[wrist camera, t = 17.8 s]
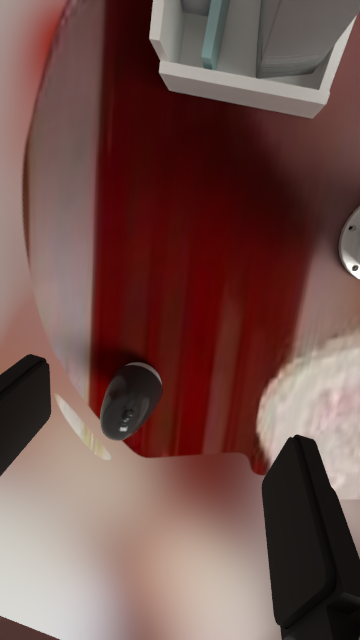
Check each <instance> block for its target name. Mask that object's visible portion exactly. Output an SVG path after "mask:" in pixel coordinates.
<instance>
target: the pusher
mask: <svg viewBox="0 0 360 640" xmlns="http://www.w3.org/2000/svg"><path fill="white" fill-rule="evenodd" d="M229 2H230V0H182V7H183V12H184V13H189V14H195V15H201V16H207V17H208V21H207V27H206V32H205V38H204V43H203V49H202V55H201V58H202V63H203V67H204V69H209V70H215V71H216V67H217V62H218V57H219V52H220V47H221V42H222V37H223V32H224V27H225V22H226V17H227V12H228V7H229Z"/></svg>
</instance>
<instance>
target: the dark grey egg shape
mask: <svg viewBox="0 0 360 640" xmlns="http://www.w3.org/2000/svg"><path fill="white" fill-rule="evenodd" d="M162 393H163V389H162V383H161V379H160V376H159V374H158V373H157V371H156V370H155V369H154V368H152V367H151V366H149V365H147V364H145V363H140V362H134V363H130V364H127V365H125V366H123V367H121V368H119V369H118V370H117V371H116V372H115V373H114V375H113V376H112V378H111V380H110V382H109V385H108V387H107V390H106V393H105V396H104V399H103V403H102V408H101V415H100V423H101V428H102V431H103V433H104V434H105V436H106V437H108V438H109V439H112V440H115V441H120V440H124V439H126V438H128V437H130V436H131V435H133V434H134V433H135V432H136V431H137V430H139V429H140V428H141V427H142V425H143V424H144V423H145V422H146V421H147V420H148V418H149V417H150V416H151V414H152V413H153V412H154V410H155V409H156V407H157V405H158V404H159V402H160V399H161V397H162Z"/></svg>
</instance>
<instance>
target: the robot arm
mask: <svg viewBox="0 0 360 640" xmlns="http://www.w3.org/2000/svg"><path fill="white" fill-rule="evenodd" d="M350 226H351V227H352V228H351V229H350V230H349V227H350ZM339 256H340V259H341V262H342V264H343V265H344V267H345V269H346V270H347V271H348V272H349V273H350V274H351V275H353V276H354V277H356V278H357V279H359V280H360V205H359V206H358V207H357V208H356V209H355V210H354V211H353V213H352V214H351V215H350V217H349V218H348V219H347V221H346V223H345V225H344V227H343V229H342V232H341V235H340V239H339ZM353 266H354V268H352V267H353ZM50 396H51V395H50V371H49V364H48V363H46V359H45V358H42V357H38V356H35V355H32V354H30V355H27V356H25V357H24V358H23V359H21V360H20V361H18V362H17V363H16V364H15V365H13V366H12V367H10V368H9V369H8V370H7V371H5V372H4V373H2V374H1V375H0V476H1V475H2V474H3V472H4V471H5V470H6V469H7V468H8V467H9V465H10V464H11V463H12V462H13V461H14V460H15V458H16V457H17V456H18V455H19V454H20V452H21V451H22V450H23V449H24V448H25V447H26V445H27V444H28V443H29V442H30V441H31V440H32V438H33V437H34V436H35V435H36V434H37V432H38V431H39V430H40V429H41V428H42V426H43V425H44V424H45V423H46V422H47V421H48V419H49V417H50V415H51V397H50ZM262 498H263V508H264V517H265V529H266V537H267V549H268V559H269V569H270V580H271V590H272V600H273V610H274V617H275V621H276V623H277V624H278V625H280V627H281V636H282V640H360V559H359V556H358V553H357V550H356V547H355V545H354V542H353V539H352V536H351V533H350V530H349V528H348V525H347V522H346V519H345V516H344V514H343V511H342V508H341V505H340V502H339V499H338V497H337V494H336V492H335V491H334V489H333V488H332V487H331V485H330V482H329V479H328V477H327V474H326V471H325V468H324V465H323V462H322V459H321V456H320V453H319V450H318V447H317V444H316V442H315V441H314V440H313V439H310V438H307V437H304V436H300V435H295V436H294V437H293V438H292V437H289V438H288V440H287V441H286V443H285V445H284V446H283V448H282V450H281V451H280V453H279V455H278V456H277V458H276V460H275V461H274V463H273V465H272V466H271V468H270V470H269V471H268V473H267V475H266V476H265V478H264V480H263V483H262ZM0 640H59V639H57V638H55V637H52V636H49V635H47V634H45V633H42V632H40V631H37V630H34V629H32V628H29V627H27V626H24V625H22V624H19V623H17V622H14V621H12V620H9V619H7V618H4V617H1V616H0Z"/></svg>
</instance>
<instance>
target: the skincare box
mask: <svg viewBox="0 0 360 640" xmlns="http://www.w3.org/2000/svg"><path fill="white" fill-rule="evenodd" d="M359 12H360V0H261V6H260V17H259V28H258V41H257V57H256V78H257V79H262V78H272V77H283V76H296V75H306V74H312V73H313V72H314V71H315V69H316V68H317V67H318V65H319V64H320V63H321V61H322V60H323V59H324V58H325V56H326V55H327V54H328V52H329V51H330V50H331V48H332V47H333V46H334V44H335V43H336V42H337V41H338V39H339V38H340V37H341V35H342V34H343V33H344V31H345V30H346V29H347V27H348V26H349V25H350V23H351V22H352V21H353V19H354V18H355V17H356V16H357V14H358V13H359Z"/></svg>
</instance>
